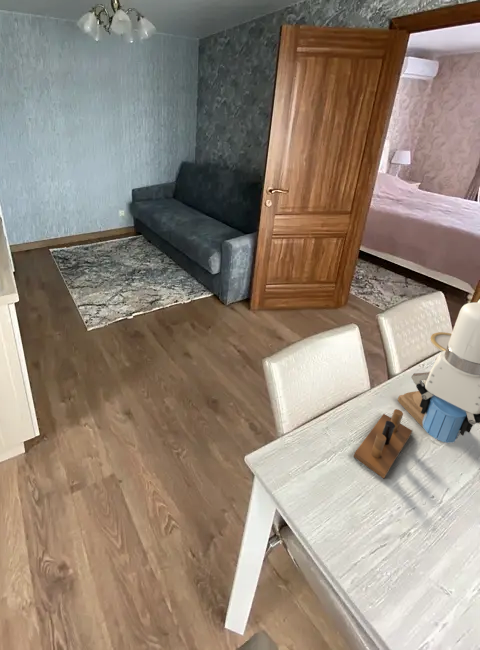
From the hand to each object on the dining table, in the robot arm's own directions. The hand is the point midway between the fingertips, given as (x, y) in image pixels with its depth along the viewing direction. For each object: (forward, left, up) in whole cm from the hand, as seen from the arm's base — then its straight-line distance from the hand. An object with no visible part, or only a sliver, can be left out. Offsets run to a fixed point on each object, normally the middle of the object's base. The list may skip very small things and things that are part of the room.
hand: (443, 420), depth 79 cm
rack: (+9, +1, -13) cm, 16 cm away
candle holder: (-2, -17, -13) cm, 22 cm away
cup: (0, 0, -3) cm, 3 cm away
